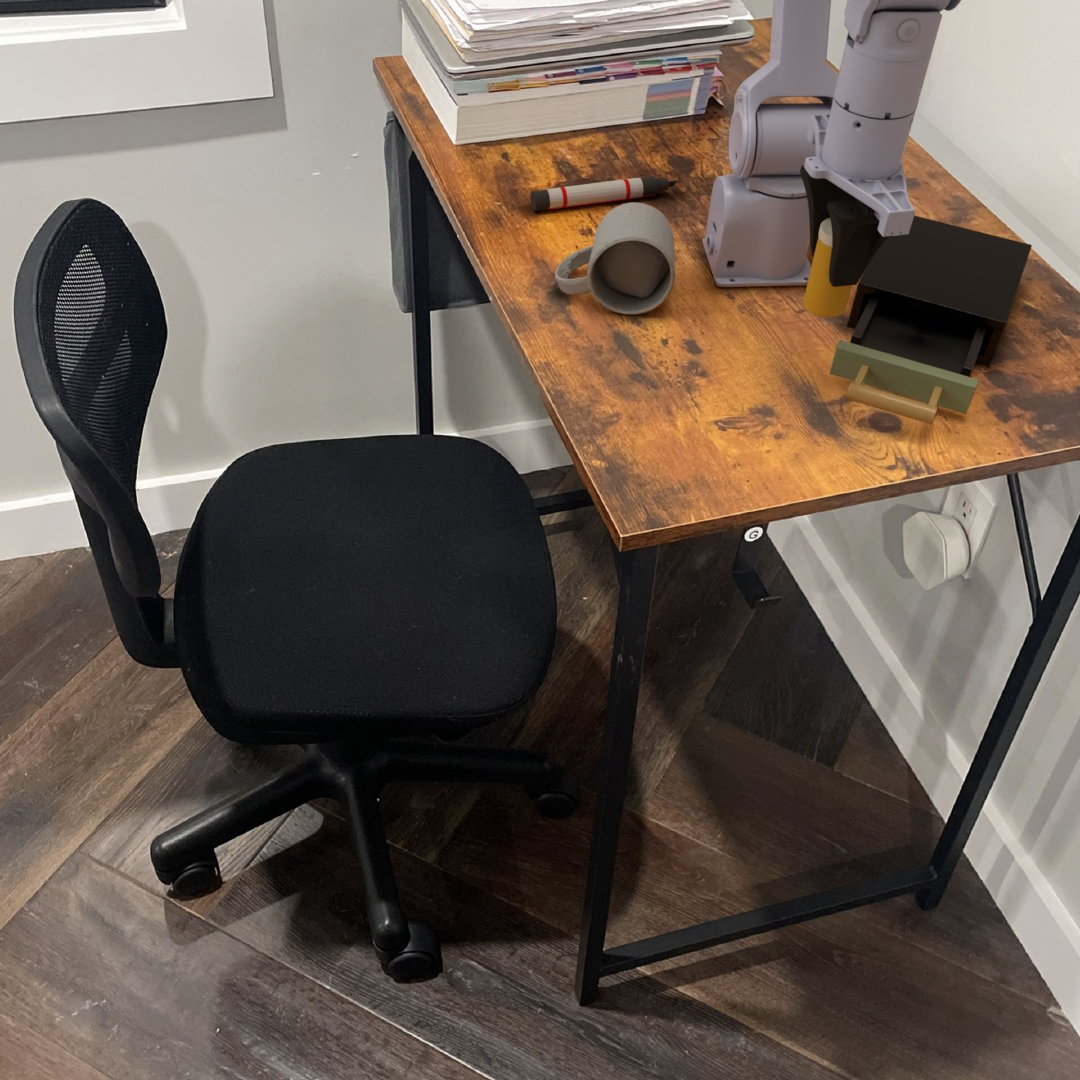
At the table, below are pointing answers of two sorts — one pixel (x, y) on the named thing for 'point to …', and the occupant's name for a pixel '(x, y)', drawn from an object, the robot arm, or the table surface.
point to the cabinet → (947, 276)
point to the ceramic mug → (625, 261)
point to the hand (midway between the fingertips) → (833, 269)
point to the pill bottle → (824, 280)
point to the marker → (598, 192)
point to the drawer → (910, 359)
